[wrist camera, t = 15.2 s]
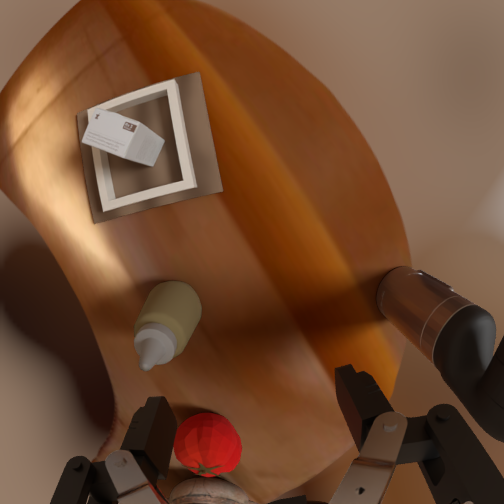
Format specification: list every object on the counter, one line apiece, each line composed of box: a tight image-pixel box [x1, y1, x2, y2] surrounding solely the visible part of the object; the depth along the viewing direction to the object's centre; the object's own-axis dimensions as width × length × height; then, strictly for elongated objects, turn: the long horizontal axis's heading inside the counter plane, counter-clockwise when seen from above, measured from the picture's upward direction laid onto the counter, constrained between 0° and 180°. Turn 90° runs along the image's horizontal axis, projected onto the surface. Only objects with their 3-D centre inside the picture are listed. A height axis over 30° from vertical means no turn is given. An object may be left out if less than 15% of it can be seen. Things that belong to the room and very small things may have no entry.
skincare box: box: [82, 108, 165, 167], centre depth 31 cm, size 6×4×12 cm
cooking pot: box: [167, 477, 258, 504], centre depth 48 cm, size 25×19×12 cm
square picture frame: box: [87, 79, 197, 212], centre depth 35 cm, size 13×15×2 cm
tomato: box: [173, 413, 242, 477], centre depth 42 cm, size 12×12×13 cm
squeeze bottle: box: [134, 281, 202, 371], centre depth 34 cm, size 8×8×18 cm
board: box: [77, 72, 223, 224], centre depth 37 cm, size 20×18×1 cm
